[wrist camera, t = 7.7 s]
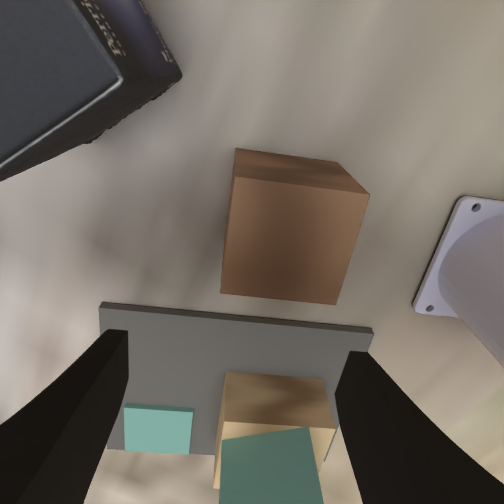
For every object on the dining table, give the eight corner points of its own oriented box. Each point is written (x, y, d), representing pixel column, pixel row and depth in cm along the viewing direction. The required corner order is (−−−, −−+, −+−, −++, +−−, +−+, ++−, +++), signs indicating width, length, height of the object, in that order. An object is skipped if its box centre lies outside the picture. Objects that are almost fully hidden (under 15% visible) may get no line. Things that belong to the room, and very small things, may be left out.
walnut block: (336, 162, 19) (370, 194, 14) (314, 251, 22) (335, 305, 17) (235, 147, 19) (235, 176, 14) (224, 241, 21) (219, 293, 16)
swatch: (193, 407, 27) (193, 412, 26) (189, 449, 29) (188, 454, 29) (125, 403, 26) (123, 407, 26) (126, 446, 29) (124, 450, 28)
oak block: (322, 379, 26) (335, 428, 22) (302, 441, 29) (311, 493, 25) (226, 371, 25) (224, 421, 22) (216, 435, 28) (213, 488, 25)
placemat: (371, 328, 25) (374, 334, 24) (323, 454, 31) (324, 461, 30) (101, 302, 23) (98, 307, 22) (109, 441, 29) (107, 448, 29)
